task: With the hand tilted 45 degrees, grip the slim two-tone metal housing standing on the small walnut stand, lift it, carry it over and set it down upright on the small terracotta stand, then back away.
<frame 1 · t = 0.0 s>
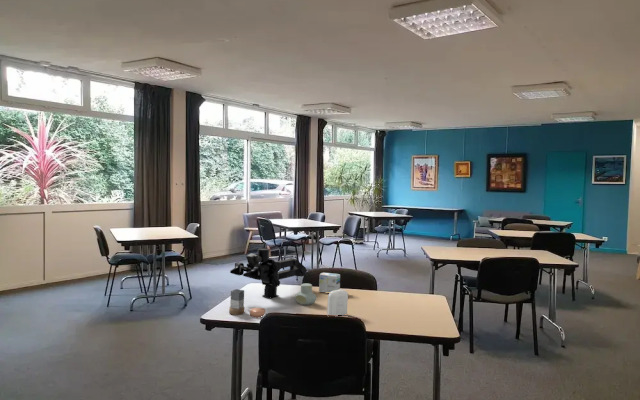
hand: (236, 273, 215), 17 cm above the table, tool horizontal, fingers open, 9 cm apart
light bulb box: (329, 292, 250), on the table
stand a: (236, 312, 205), on the table
stand b: (257, 315, 203), on the table
photo printer: (337, 315, 208), on the table
housing: (237, 307, 205), point 2 cm above the table, touching stand a
grey plastic tee piece: (305, 304, 225), on the table
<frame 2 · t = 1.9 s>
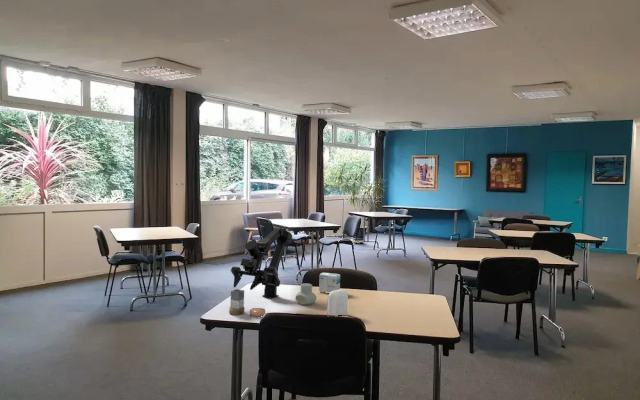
hand: (242, 288, 209), 11 cm above the table, tool tilted 45°, fingers open, 9 cm apart
nothing on the table moved.
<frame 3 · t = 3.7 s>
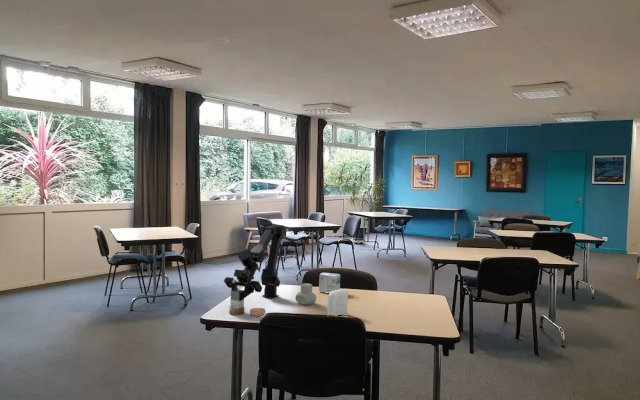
hand: (235, 299, 204), 7 cm above the table, tool tilted 45°, fingers closed on housing, 4 cm apart
housing: (237, 307, 205), point 3 cm above the table, touching gripper, stand a
everything else where it was.
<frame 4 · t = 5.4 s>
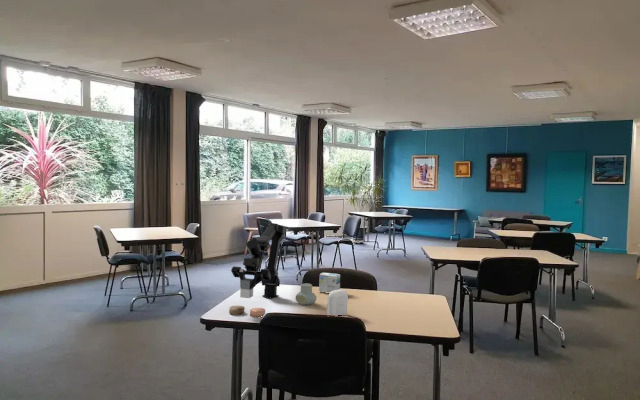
hand: (245, 288, 202), 12 cm above the table, tool tilted 45°, fingers closed on housing, 4 cm apart
housing: (246, 296, 204), point 8 cm above the table, touching gripper
everything else where it was.
when the fingers open (8 cm above the table, at t = 7.2 s): housing drops 1 cm, resting on stand b.
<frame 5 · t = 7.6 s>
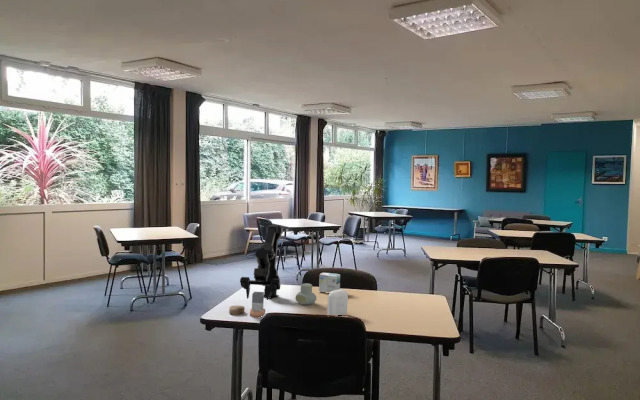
hand: (257, 299, 201), 8 cm above the table, tool tilted 45°, fingers open, 9 cm apart
housing: (257, 309, 203), point 2 cm above the table, touching stand b
everything else where it was.
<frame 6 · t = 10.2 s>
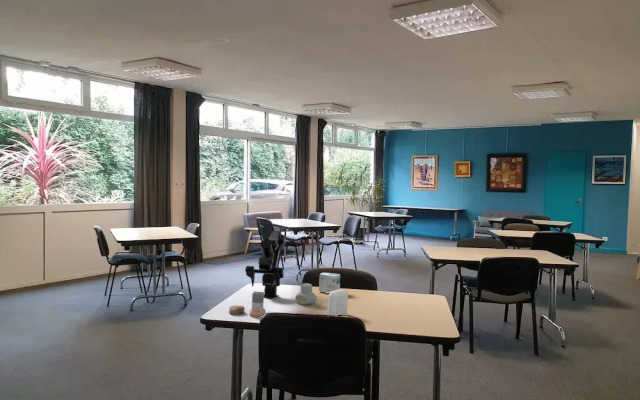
hand: (261, 286, 210), 12 cm above the table, tool tilted 45°, fingers open, 9 cm apart
nothing on the table moved.
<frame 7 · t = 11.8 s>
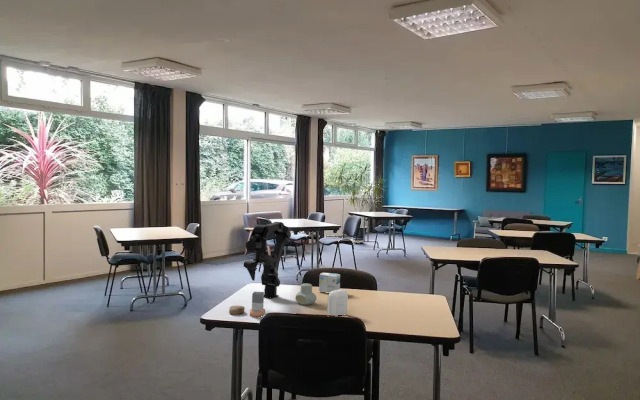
hand: (259, 279, 224), 12 cm above the table, tool pointing down, fingers open, 9 cm apart
nothing on the table moved.
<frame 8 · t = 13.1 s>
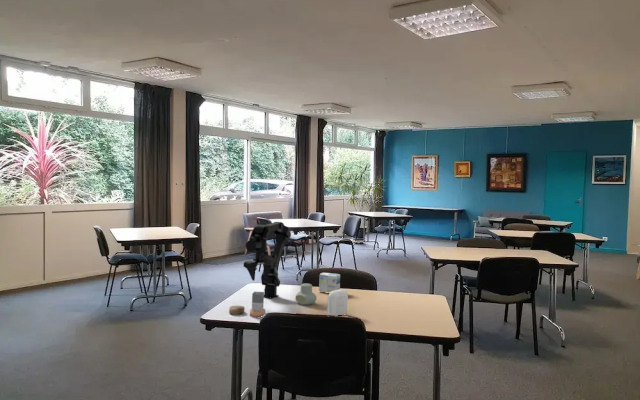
hand: (259, 279, 224), 12 cm above the table, tool pointing down, fingers open, 9 cm apart
nothing on the table moved.
at the end: housing 0.0 cm off-centre on the stand b, point 2.5 cm above the stand b's base; housing tilted 0°; the gripper is holding nothing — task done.
